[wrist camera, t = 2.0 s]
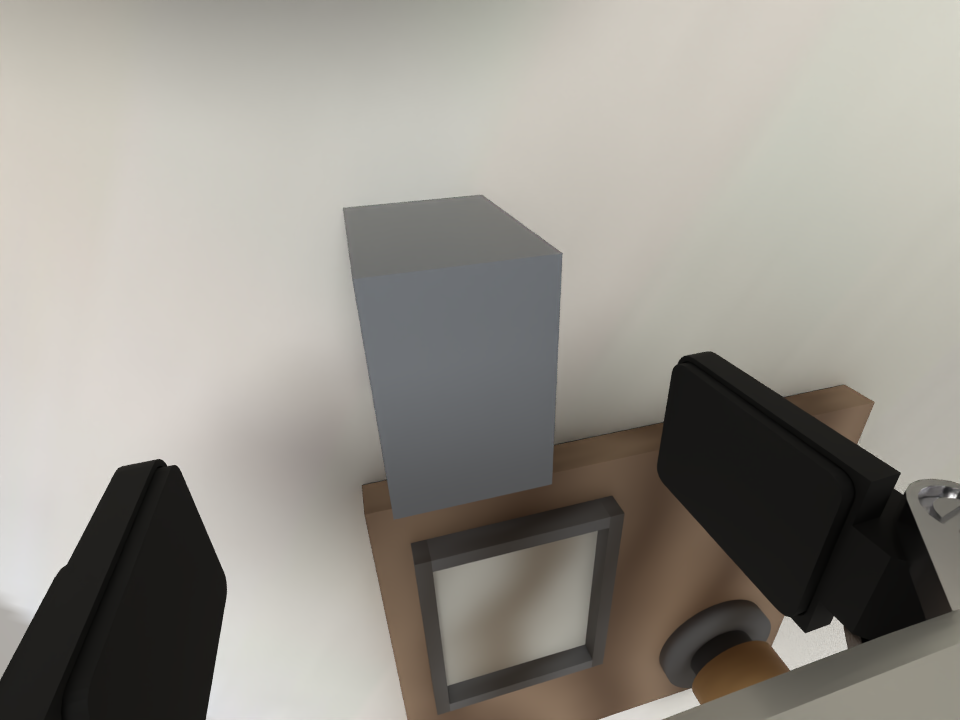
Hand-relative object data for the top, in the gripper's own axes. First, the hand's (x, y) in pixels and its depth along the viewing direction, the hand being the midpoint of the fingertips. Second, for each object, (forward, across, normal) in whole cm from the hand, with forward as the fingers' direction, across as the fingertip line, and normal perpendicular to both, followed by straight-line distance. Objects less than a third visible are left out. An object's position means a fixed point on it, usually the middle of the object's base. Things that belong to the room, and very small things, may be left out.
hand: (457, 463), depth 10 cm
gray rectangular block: (+7, -1, 0) cm, 8 cm away
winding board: (+7, -9, +16) cm, 20 cm away
